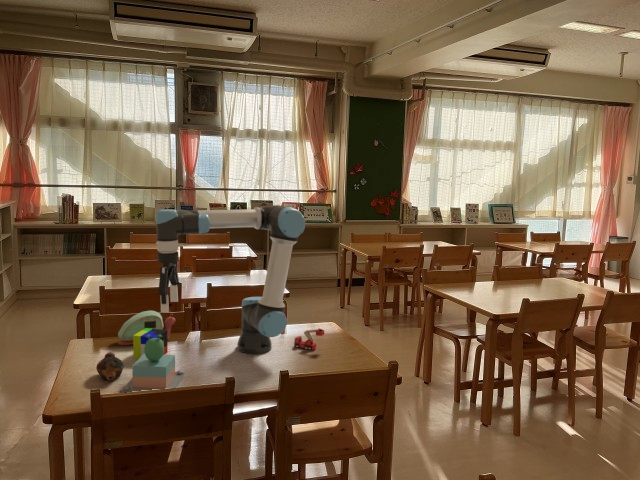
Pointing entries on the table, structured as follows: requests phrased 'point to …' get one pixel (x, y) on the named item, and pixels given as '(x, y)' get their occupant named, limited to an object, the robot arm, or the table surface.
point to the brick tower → (154, 374)
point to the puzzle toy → (141, 339)
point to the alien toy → (154, 348)
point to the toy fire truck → (309, 342)
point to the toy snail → (143, 325)
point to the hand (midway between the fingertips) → (169, 306)
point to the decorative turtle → (110, 367)
